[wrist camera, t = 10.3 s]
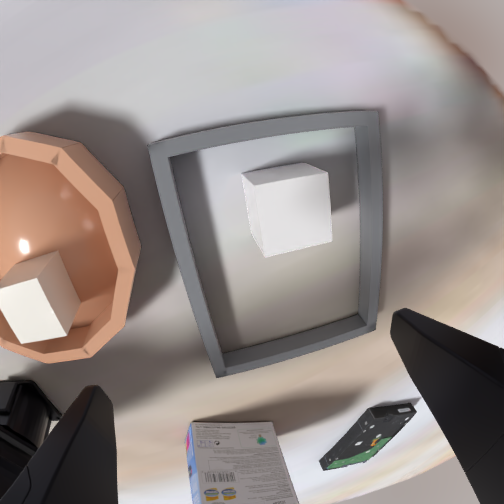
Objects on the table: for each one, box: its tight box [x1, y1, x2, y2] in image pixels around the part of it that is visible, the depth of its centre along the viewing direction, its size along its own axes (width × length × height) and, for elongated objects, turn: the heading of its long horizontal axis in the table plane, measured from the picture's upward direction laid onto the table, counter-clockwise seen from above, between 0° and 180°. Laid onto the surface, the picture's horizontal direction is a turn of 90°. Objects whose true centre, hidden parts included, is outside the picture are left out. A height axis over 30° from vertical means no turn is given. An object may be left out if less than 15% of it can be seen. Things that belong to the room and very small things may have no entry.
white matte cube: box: [0, 251, 81, 344], centre depth 17 cm, size 4×4×4 cm
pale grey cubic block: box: [241, 162, 332, 257], centre depth 19 cm, size 4×4×4 cm
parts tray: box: [147, 110, 383, 378], centre depth 22 cm, size 19×15×2 cm
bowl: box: [0, 131, 141, 364], centre depth 17 cm, size 16×16×4 cm
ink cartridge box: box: [185, 422, 299, 504], centre depth 25 cm, size 10×6×14 cm, turn 76°
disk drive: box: [319, 403, 417, 471], centre depth 39 cm, size 10×3×15 cm
